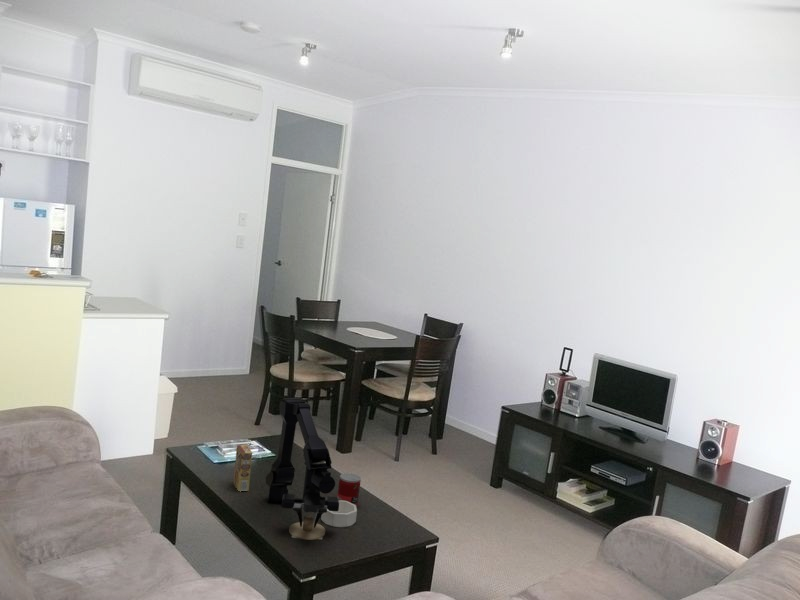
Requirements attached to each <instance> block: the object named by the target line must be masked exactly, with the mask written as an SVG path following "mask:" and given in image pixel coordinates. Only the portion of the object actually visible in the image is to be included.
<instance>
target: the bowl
mask: <svg viewBox="0 0 800 600" xmlns="http://www.w3.org/2000/svg"><path fill="white" fill-rule="evenodd" d="M357 512H358V509H357V507H356V505H354V504H352V503H350V502H348V501H343V500H339V510H338V511H329V510H328V509H327V512H326V513H323V514H322V515H321V517H320V519H321V521H322V522H323V523H324V524H326V525H327V526H331V527H335V528H348V527H351V526H353V525H355V523H356V521H357V515H358V513H357Z"/></svg>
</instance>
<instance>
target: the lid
mask: <svg viewBox="0 0 800 600" xmlns="http://www.w3.org/2000/svg"><path fill="white" fill-rule="evenodd" d="M314 520H315V517H313V516H311V515H305V516H304V517H303V521H302V527H300V522H299V521H298V522H294V523H292V524H291V525H290V526H289V528H288V532H289V534H290V536H291V537H292V536H294V537H296V538H295V539H299V540H307V541H311V540H312V541H313V540H320V539H319V538H321V537H322V538H323V537H324V536H325V534H326V529H325V527H324V526H323V525H321V524H320V523H317V525H316V527H315V528H314Z"/></svg>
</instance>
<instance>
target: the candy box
mask: <svg viewBox="0 0 800 600" xmlns="http://www.w3.org/2000/svg"><path fill="white" fill-rule="evenodd" d="M235 450H236V453H235V462H234V474H233V485H234V488H237V489H236V491H237V490H238V491H240V492H239V493H242V492H241V491H248V492H249V490H250V480H251V472H252V471H251V469H252V460H253V452H252V450H251V449H250V447H249V446H248V445H247V444H241V445H240V444H239V445H236V449H235ZM238 491H237V492H238Z"/></svg>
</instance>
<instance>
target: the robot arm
mask: <svg viewBox="0 0 800 600" xmlns="http://www.w3.org/2000/svg"><path fill="white" fill-rule="evenodd" d="M278 406H279V407H278V408H279V415H280V417H281V419H282V425H281V432H280V433H281V434H280V439H279V445H278V446H279V447H278V454H277V458H276V459H275V460H274V462H273V463H272V465H271V468H270V471H269V472H268V474H267V475H266V476H265V484H266V485H267V486H268V487H269V489H268V497H267V504H276V505H280V504H281V508H282V509H292V511H294V512H296V514H297V516H298V522H300V527H302V522H303V512H304V513H314V514H315V517H314V519H313V522H314V528H315V527H316V525H317V524H318V522H319V520H320V519H321V516H322V514H323V513H326V512H327V509H328V510H329V511H338V510H339V499H338V498H337V496H328V495H327V496H326V497H325V496H322V495H321V493H322V494H324V495H326V494H330V493H331V492H332V491H334V489H335V486H336V481H335V479H334V477H332V475H331V474H332V473H331V471H329V470H331V469H332V464H333V463H332V458H331V455H330V452H329V448H328V447H327V444H326V443H325V441H324V440H323V438H321V437H320V436H319V434H318V432H317V428H316V424H315V422H314V419H313V417H312V413H311V406H310V404H309V403H308V401H304V400H302V398H300V397H290V398H288V397H285V398H283V399H281V401H280V402H279V405H278ZM297 424H298V426H299V429H300V432H301V434H302V438H303V441H304V445H303V450H302V451H303V458H304V461H305V462H304V465H305V474H304V483H303V491H302V497H301V498H299V497H296V496H295V495H296V494H295V493H294V494H293V493H289V487H288V486H292V484H293V483H294V478H295V471H296V468H295V467H294V465H293V463H292V455H293V449H294V443H295V442H294V441H295V435H296V429H297ZM328 469H329V470H328Z"/></svg>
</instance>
